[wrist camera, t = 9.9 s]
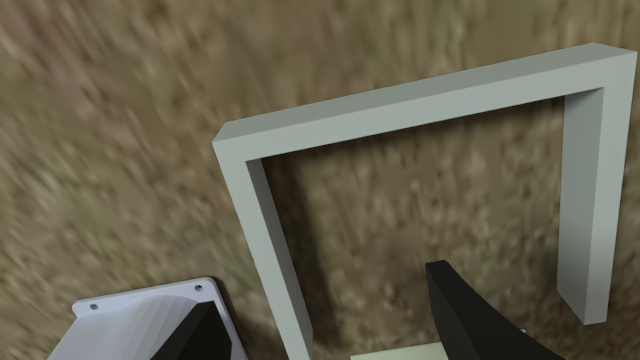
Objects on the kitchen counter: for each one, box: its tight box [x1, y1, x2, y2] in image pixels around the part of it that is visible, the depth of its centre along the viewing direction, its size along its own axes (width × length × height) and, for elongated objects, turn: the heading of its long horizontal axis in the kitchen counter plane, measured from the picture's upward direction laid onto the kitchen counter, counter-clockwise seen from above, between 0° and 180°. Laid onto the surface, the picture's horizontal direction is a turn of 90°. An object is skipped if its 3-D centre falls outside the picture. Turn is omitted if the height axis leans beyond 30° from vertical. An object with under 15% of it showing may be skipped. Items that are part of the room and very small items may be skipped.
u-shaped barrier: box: [212, 43, 637, 360], centre depth 22 cm, size 18×15×3 cm
